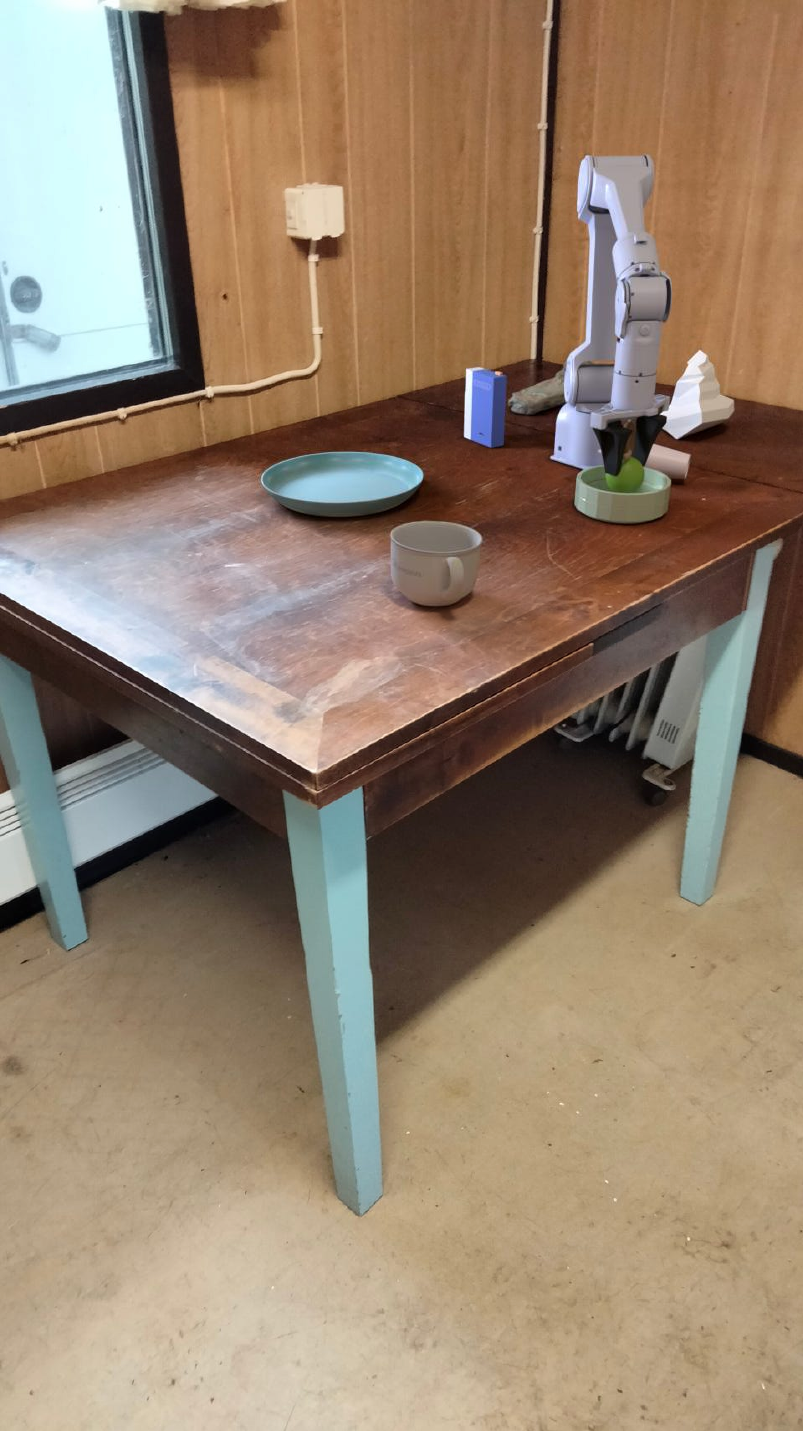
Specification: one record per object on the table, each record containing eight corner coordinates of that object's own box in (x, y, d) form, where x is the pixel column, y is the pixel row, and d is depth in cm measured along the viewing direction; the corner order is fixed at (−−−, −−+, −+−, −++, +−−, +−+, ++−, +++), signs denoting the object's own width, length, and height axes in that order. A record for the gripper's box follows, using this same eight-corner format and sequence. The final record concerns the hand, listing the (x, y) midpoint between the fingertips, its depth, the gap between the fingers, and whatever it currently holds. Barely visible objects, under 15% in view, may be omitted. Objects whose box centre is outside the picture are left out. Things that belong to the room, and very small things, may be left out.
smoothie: (694, 444, 159) (605, 429, 163) (690, 446, 154) (598, 431, 158) (684, 486, 162) (597, 470, 166) (680, 489, 156) (590, 473, 160)
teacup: (387, 579, 129) (386, 518, 125) (473, 576, 130) (475, 515, 126) (396, 629, 117) (396, 564, 113) (491, 625, 118) (493, 560, 114)
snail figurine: (645, 486, 151) (654, 403, 144) (639, 501, 146) (648, 416, 139) (608, 482, 152) (615, 401, 146) (601, 498, 147) (607, 414, 141)
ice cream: (640, 442, 182) (636, 357, 178) (688, 432, 192) (685, 352, 187) (702, 438, 173) (699, 349, 169) (749, 428, 182) (748, 343, 178)
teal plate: (456, 493, 156) (456, 472, 154) (341, 538, 141) (340, 515, 139) (344, 460, 170) (344, 440, 168) (229, 498, 155) (227, 476, 153)
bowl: (555, 507, 151) (557, 477, 148) (614, 487, 158) (617, 458, 155) (626, 532, 142) (630, 501, 140) (685, 510, 149) (690, 480, 147)
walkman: (503, 445, 176) (507, 373, 170) (490, 448, 175) (493, 375, 169) (476, 434, 182) (478, 364, 176) (463, 436, 181) (465, 366, 174)
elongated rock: (493, 417, 196) (538, 429, 191) (495, 389, 193) (540, 400, 188) (588, 371, 218) (630, 381, 213) (590, 346, 215) (633, 355, 210)
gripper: (623, 386, 133) (613, 487, 140) (692, 368, 141) (679, 465, 148) (582, 376, 138) (574, 475, 145) (651, 359, 146) (640, 454, 153)
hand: (624, 469), depth 147 cm, fingers closed on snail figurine, 5 cm apart
